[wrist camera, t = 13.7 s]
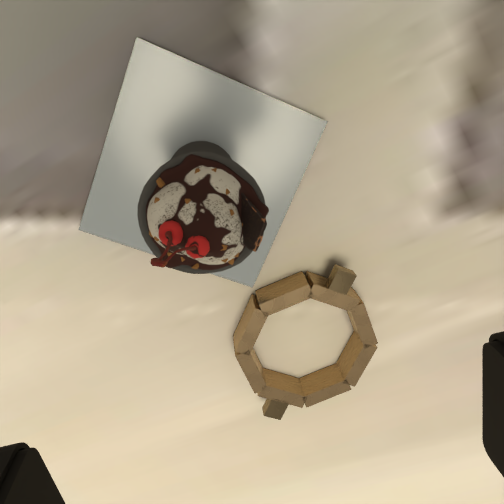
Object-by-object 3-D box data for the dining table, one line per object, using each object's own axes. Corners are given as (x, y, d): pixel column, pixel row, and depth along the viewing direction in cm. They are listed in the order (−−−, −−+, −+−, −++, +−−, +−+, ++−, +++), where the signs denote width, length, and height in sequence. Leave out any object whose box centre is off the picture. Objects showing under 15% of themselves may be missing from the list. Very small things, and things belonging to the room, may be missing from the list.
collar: (277, 237, 36) (282, 249, 34) (395, 280, 39) (408, 294, 37) (211, 383, 41) (212, 402, 38) (321, 413, 43) (328, 432, 41)
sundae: (135, 181, 33) (88, 262, 19) (195, 108, 31) (192, 138, 17) (206, 236, 35) (210, 347, 21) (265, 170, 33) (312, 242, 20)
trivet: (138, 37, 30) (136, 36, 29) (324, 120, 33) (327, 121, 33) (81, 226, 34) (78, 229, 33) (251, 283, 38) (252, 287, 37)
